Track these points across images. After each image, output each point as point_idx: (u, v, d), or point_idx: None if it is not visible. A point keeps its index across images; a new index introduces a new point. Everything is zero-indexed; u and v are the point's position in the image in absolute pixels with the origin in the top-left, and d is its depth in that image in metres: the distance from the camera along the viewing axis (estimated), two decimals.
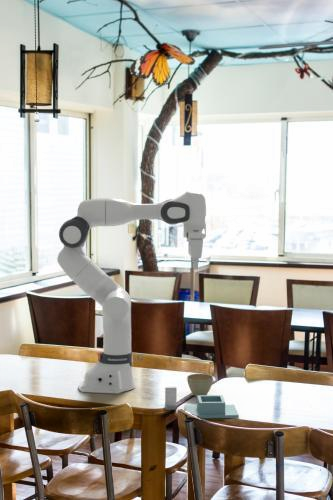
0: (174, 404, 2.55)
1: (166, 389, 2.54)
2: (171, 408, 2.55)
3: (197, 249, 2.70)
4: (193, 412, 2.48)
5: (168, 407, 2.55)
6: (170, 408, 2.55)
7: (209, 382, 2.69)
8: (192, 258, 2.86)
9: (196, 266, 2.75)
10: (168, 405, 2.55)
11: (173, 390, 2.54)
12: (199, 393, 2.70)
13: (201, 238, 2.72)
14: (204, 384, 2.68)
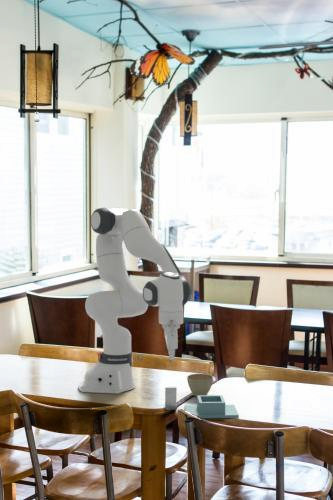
0: (174, 404, 2.55)
1: (166, 389, 2.54)
2: (171, 408, 2.55)
3: None
4: (193, 412, 2.48)
5: (168, 407, 2.55)
6: (170, 408, 2.55)
7: (209, 382, 2.69)
8: None
9: None
10: (168, 405, 2.55)
11: (173, 390, 2.54)
12: (199, 393, 2.70)
13: None
14: (204, 384, 2.68)
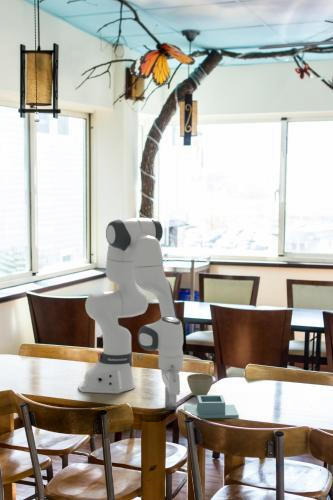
0: (174, 404, 2.55)
1: (166, 389, 2.54)
2: (171, 408, 2.55)
3: None
4: (193, 412, 2.48)
5: (168, 407, 2.55)
6: (170, 408, 2.55)
7: (209, 382, 2.69)
8: None
9: None
10: (168, 405, 2.55)
11: None
12: (199, 393, 2.70)
13: None
14: (204, 384, 2.68)
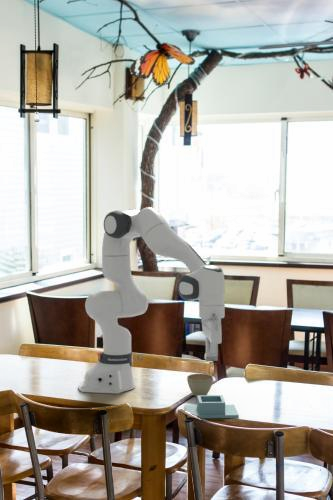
0: (215, 355, 2.48)
1: (207, 340, 2.47)
2: (212, 359, 2.48)
3: None
4: (193, 412, 2.48)
5: (209, 358, 2.47)
6: (211, 359, 2.48)
7: (209, 382, 2.69)
8: (214, 343, 2.46)
9: None
10: (209, 356, 2.47)
11: None
12: (199, 393, 2.70)
13: None
14: (204, 384, 2.68)
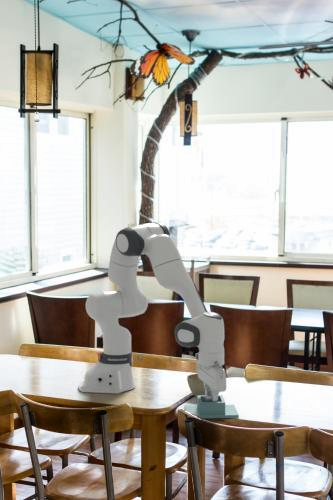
0: None
1: (207, 391, 2.48)
2: None
3: None
4: (193, 412, 2.48)
5: None
6: None
7: None
8: (216, 391, 2.45)
9: None
10: None
11: None
12: (199, 393, 2.70)
13: None
14: None
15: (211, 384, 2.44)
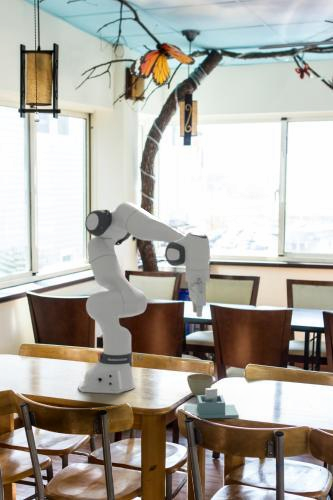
0: None
1: (207, 391, 2.48)
2: None
3: None
4: (193, 412, 2.48)
5: None
6: None
7: (209, 382, 2.69)
8: None
9: None
10: None
11: (214, 391, 2.49)
12: (199, 393, 2.70)
13: None
14: (204, 384, 2.68)
15: (194, 300, 2.55)
